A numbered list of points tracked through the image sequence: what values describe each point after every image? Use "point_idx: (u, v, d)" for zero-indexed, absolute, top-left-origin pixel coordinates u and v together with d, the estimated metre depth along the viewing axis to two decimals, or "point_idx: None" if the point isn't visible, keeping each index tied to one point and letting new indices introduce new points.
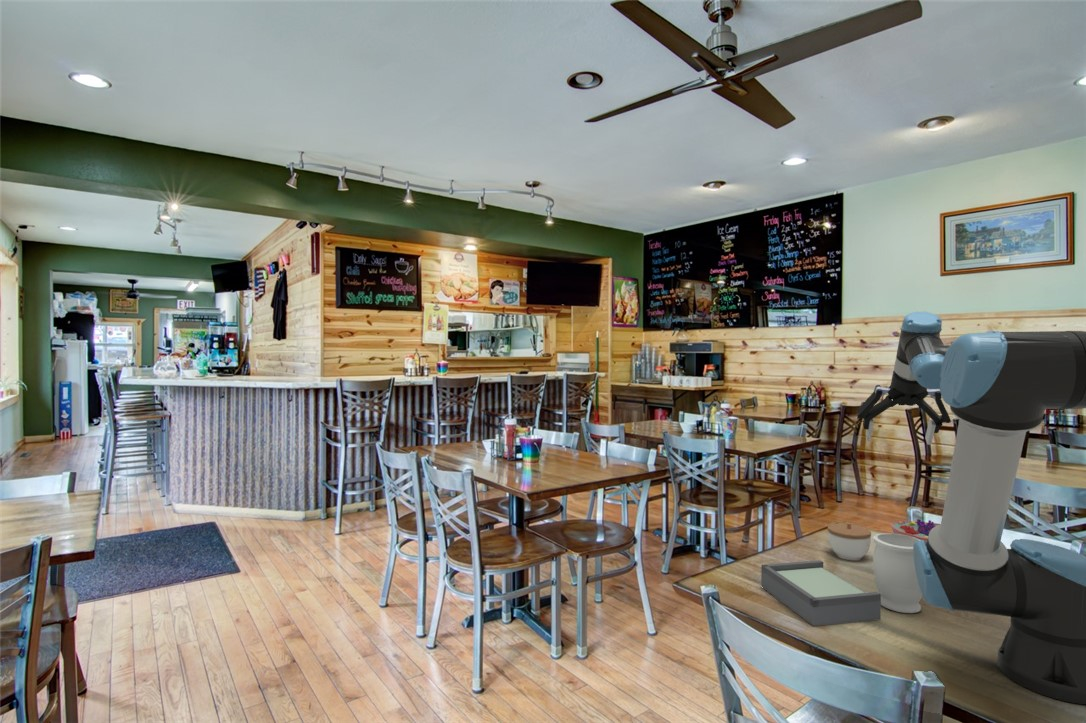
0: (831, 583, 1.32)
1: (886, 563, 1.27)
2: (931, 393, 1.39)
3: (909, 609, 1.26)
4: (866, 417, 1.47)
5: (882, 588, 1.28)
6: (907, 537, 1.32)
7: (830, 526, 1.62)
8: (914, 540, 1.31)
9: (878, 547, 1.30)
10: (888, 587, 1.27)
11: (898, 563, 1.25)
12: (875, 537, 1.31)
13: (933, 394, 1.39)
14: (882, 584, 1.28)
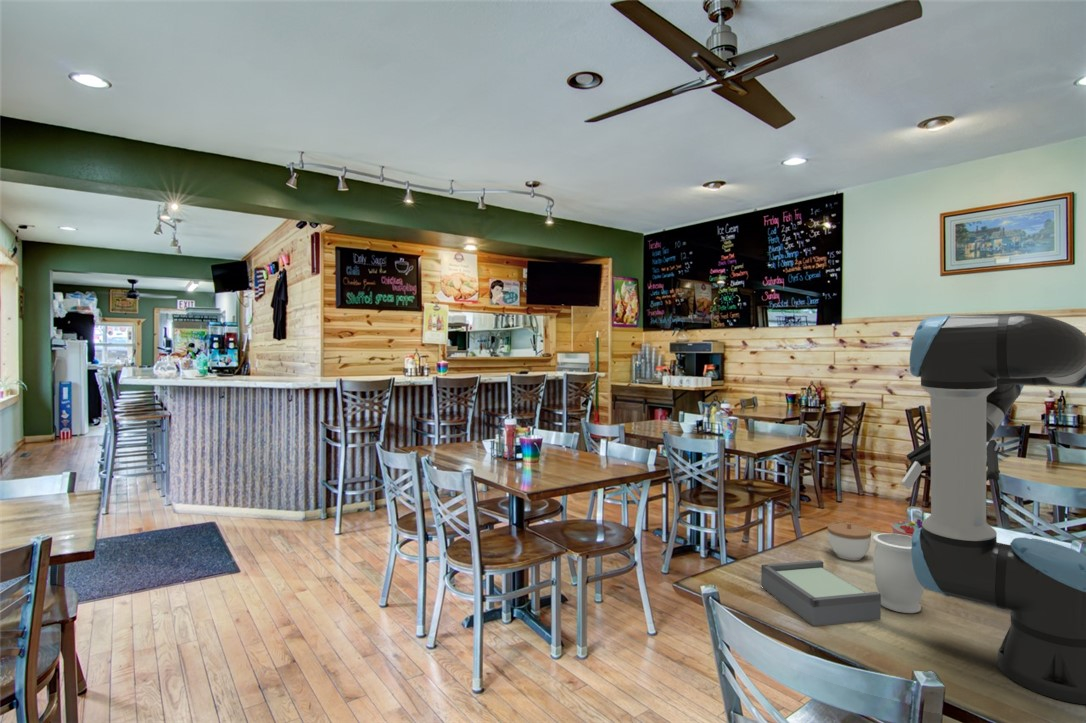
0: (831, 583, 1.32)
1: (886, 563, 1.27)
2: (987, 443, 1.32)
3: (909, 609, 1.26)
4: None
5: (882, 588, 1.28)
6: (907, 537, 1.32)
7: (830, 526, 1.62)
8: None
9: (878, 547, 1.30)
10: (888, 587, 1.27)
11: (898, 563, 1.25)
12: (875, 537, 1.31)
13: None
14: (882, 584, 1.28)
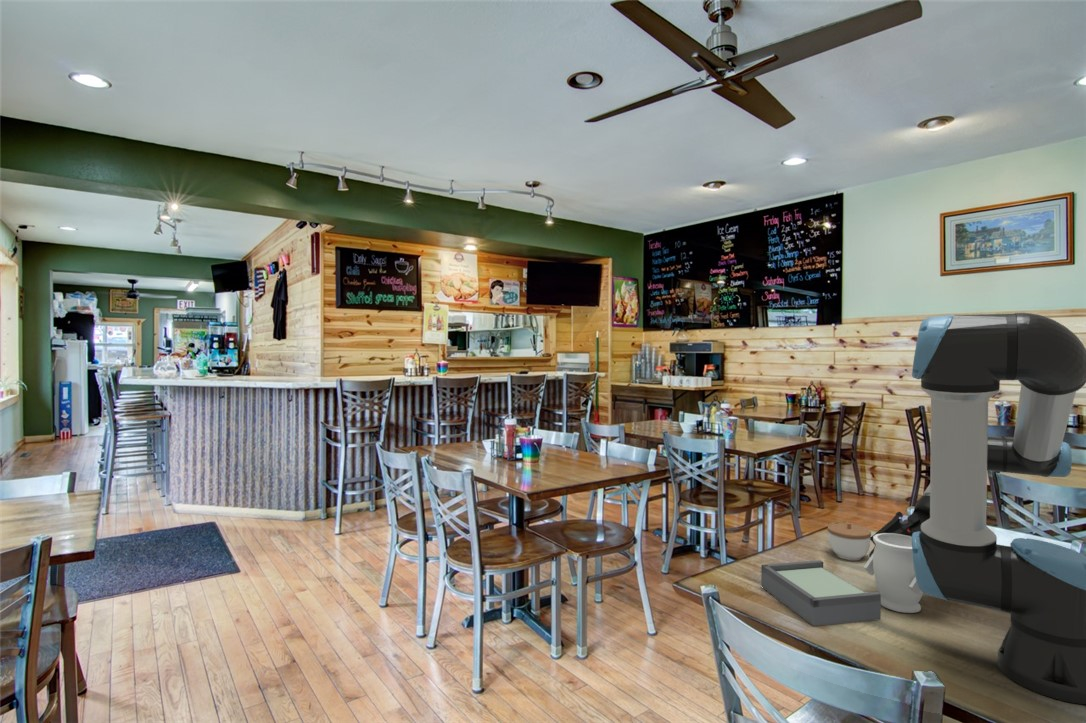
0: (831, 583, 1.32)
1: (886, 563, 1.27)
2: None
3: (909, 609, 1.26)
4: None
5: (882, 588, 1.28)
6: (907, 537, 1.32)
7: (830, 526, 1.62)
8: None
9: (878, 547, 1.30)
10: (888, 587, 1.27)
11: (898, 563, 1.25)
12: (875, 537, 1.31)
13: None
14: (882, 584, 1.28)
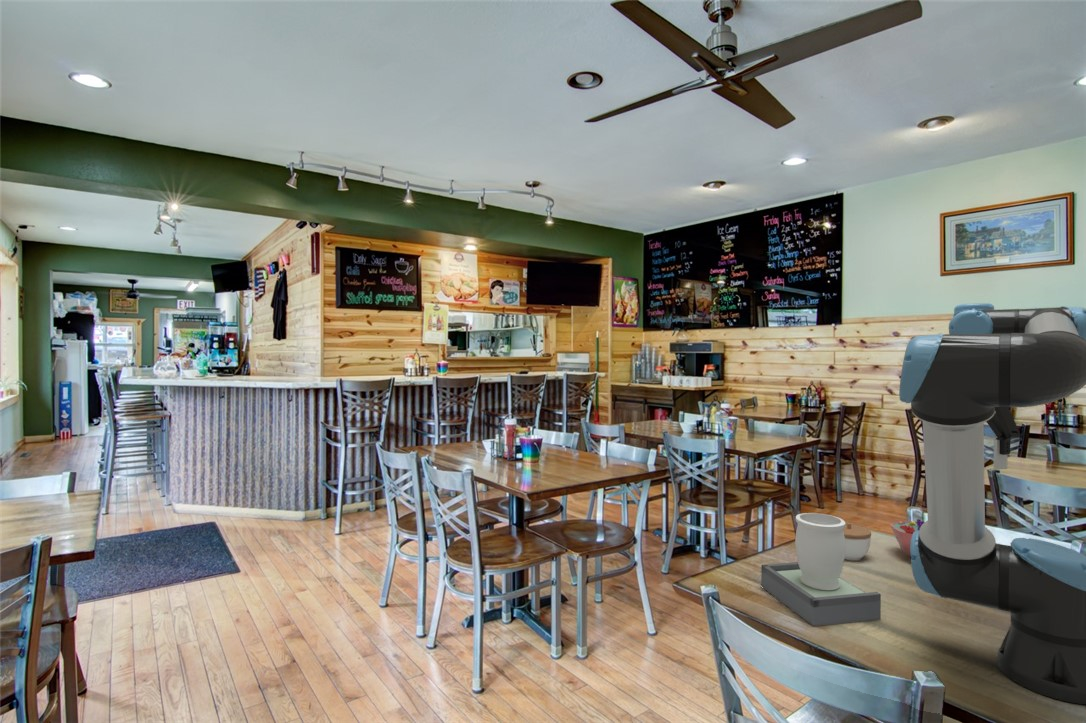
0: None
1: (805, 541, 1.29)
2: None
3: (827, 586, 1.28)
4: None
5: (802, 566, 1.30)
6: (829, 516, 1.34)
7: None
8: (835, 519, 1.33)
9: (799, 526, 1.32)
10: (807, 565, 1.29)
11: (816, 541, 1.27)
12: (797, 516, 1.33)
13: None
14: (803, 562, 1.30)
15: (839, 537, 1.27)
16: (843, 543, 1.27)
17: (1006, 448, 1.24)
